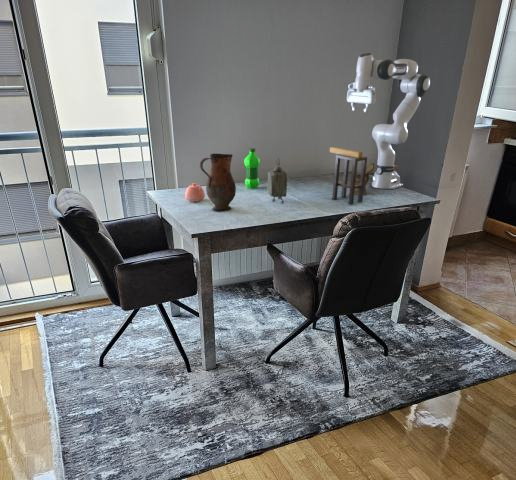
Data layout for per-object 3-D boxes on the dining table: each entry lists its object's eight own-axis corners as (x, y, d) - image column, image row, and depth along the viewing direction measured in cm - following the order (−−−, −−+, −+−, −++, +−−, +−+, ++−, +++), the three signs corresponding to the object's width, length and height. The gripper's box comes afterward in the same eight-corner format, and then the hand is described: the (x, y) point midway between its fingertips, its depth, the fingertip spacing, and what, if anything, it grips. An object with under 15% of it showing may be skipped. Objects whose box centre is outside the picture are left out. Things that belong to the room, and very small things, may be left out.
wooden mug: (374, 193, 307) (378, 164, 297) (357, 195, 302) (360, 166, 292) (366, 190, 314) (369, 162, 304) (349, 192, 309) (352, 163, 299)
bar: (333, 151, 290) (333, 146, 288) (362, 157, 273) (362, 151, 272) (329, 152, 288) (330, 147, 287) (358, 157, 272) (359, 152, 270)
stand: (343, 196, 299) (347, 153, 285) (362, 201, 288) (367, 157, 274) (332, 199, 294) (335, 154, 280) (350, 204, 283) (355, 158, 269)
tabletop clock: (286, 204, 283) (287, 160, 270) (271, 204, 282) (272, 160, 269) (281, 198, 295) (282, 156, 282) (267, 198, 294) (267, 156, 281)
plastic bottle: (259, 189, 315) (259, 149, 302) (244, 189, 315) (243, 149, 302) (260, 186, 323) (260, 147, 310) (244, 186, 323) (244, 147, 311)
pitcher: (242, 209, 272) (241, 154, 256) (211, 216, 261) (208, 159, 245) (226, 203, 283) (224, 150, 268) (195, 209, 272) (191, 154, 256)
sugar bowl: (197, 196, 298) (196, 180, 292) (211, 200, 289) (210, 183, 284) (181, 200, 290) (180, 183, 285) (195, 204, 282) (194, 187, 277)
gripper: (379, 86, 270) (376, 112, 277) (353, 84, 284) (351, 110, 291) (372, 86, 267) (369, 113, 274) (346, 85, 281) (344, 110, 288)
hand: (359, 111), depth 283 cm, fingers open, 8 cm apart
